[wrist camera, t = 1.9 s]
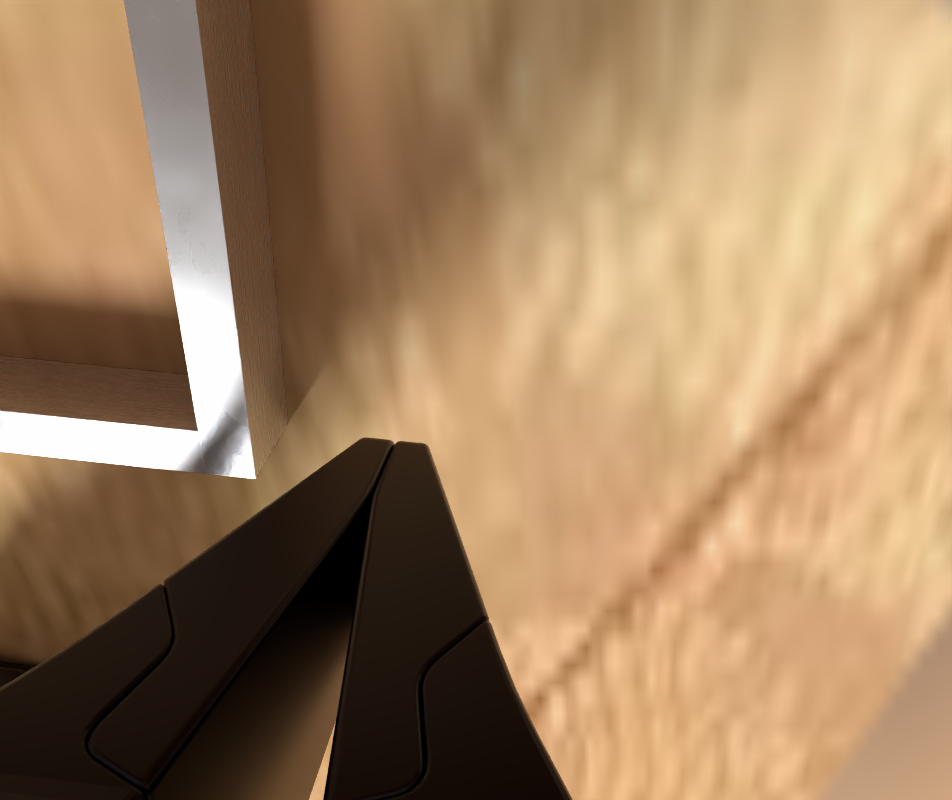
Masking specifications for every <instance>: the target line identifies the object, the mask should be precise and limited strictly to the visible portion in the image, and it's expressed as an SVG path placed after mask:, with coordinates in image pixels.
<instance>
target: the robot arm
mask: <svg viewBox="0 0 952 800" xmlns="http://www.w3.org/2000/svg"><path fill="white" fill-rule="evenodd" d="M335 721H336V724H335ZM334 724H335V730H334V736H333V743H332V749H331V755H330V761H329V768H328V774H327V780H326V786H325V793H324V799H323V800H572V798H571V796H570V794H569V792H568V790H567V788H566V786H565V784H564V782H563V781H562V779H561V777H560V775H559V773H558V771H557V769H556V767H555V765H554V764H553V762H552V760H551V758H550V756H549V754H548V752H547V750H546V748H545V747H544V745H543V743H542V741H541V739H540V737H539V735H538V733H537V731H536V729H535V727H534V725H533V723H532V721H531V719H530V717H529V715H528V713H527V711H526V709H525V707H524V704H523V702H522V700H521V698H520V696H519V694H518V692H517V690H516V688H515V685H514V683H513V680H512V678H511V675H510V673H509V670H508V668H507V665H506V663H505V660H504V658H503V655H502V653H501V650H500V647H499V645H498V642H497V639H496V636H495V633H494V630H493V628H492V625H491V623H490V622H489V617H488V614H487V612H486V609H485V606H484V603H483V600H482V597H481V594H480V592H479V589H478V586H477V583H476V580H475V577H474V575H473V572H472V569H471V566H470V563H469V560H468V557H467V555H466V552H465V549H464V546H463V543H462V540H461V537H460V535H459V532H458V529H457V526H456V523H455V520H454V517H453V515H452V512H451V509H450V506H449V503H448V500H447V498H446V495H445V492H444V489H443V486H442V483H441V480H440V478H439V475H438V472H437V469H436V466H435V463H434V460H433V458H432V455H431V452H430V449H429V447H428V446H427V445H426V444H424V443H414V442H404V441H399V442H397V443H396V444H395V445H394V442H393V441H391V440H385V439H376V438H362V439H360V440H358V441H357V442H356V443H354V444H353V445H351V446H350V447H349V448H347V449H346V450H344V451H343V452H342V453H340V454H339V455H337V456H336V457H335V458H333V459H332V460H331V461H329V462H328V463H326V464H325V465H324V466H322V467H321V468H319V469H318V470H317V471H315V472H314V473H313V474H311V475H310V476H308V477H307V478H306V479H304V480H303V481H301V482H300V483H299V484H297V485H296V486H294V487H293V488H292V489H290V490H289V491H288V492H286V493H285V494H283V495H282V496H281V497H279V498H278V499H276V500H275V501H274V502H272V503H271V504H269V505H268V506H267V507H265V508H264V509H263V510H261V511H260V512H258V513H257V514H256V515H254V516H253V517H251V518H250V519H249V520H247V521H246V522H244V523H243V524H242V525H240V526H239V527H238V528H236V529H235V530H233V531H232V532H231V533H229V534H228V535H226V536H225V537H224V538H222V539H221V540H219V541H218V542H217V543H215V544H214V545H213V546H211V547H210V548H208V549H207V550H206V551H204V552H203V553H201V554H200V555H199V556H197V557H196V558H194V559H193V560H192V561H190V562H189V563H188V564H186V565H185V566H183V567H182V568H181V569H179V570H178V571H176V572H175V573H174V574H172V575H171V576H169V577H168V578H167V579H165V581H164V586H163V585H161V584H159V585H157V586H155V587H154V588H152V589H151V590H150V591H148V592H147V593H145V594H144V595H143V596H141V597H140V598H138V599H137V600H136V601H134V602H133V603H132V604H130V605H129V606H127V607H126V608H124V609H123V610H121V611H120V612H118V613H117V614H116V615H114V616H113V617H111V618H110V619H108V620H107V621H105V622H104V623H102V624H101V625H100V626H98V627H97V628H95V629H94V630H92V631H91V632H89V633H88V634H86V635H85V636H83V637H82V638H80V639H79V640H77V641H75V642H74V643H72V644H71V645H69V646H68V647H66V648H64V649H63V650H61V651H60V652H58V653H56V654H55V655H53V656H52V657H50V658H48V659H47V660H45V661H44V662H42V663H40V664H39V665H37V666H36V667H32V666H24V665H15V664H7V663H0V800H309V798H310V795H311V792H312V789H313V786H314V783H315V780H316V777H317V774H318V771H319V768H320V765H321V762H322V759H323V756H324V753H325V750H326V747H327V745H328V742H329V739H330V736H331V733H332V730H333V727H334Z"/></svg>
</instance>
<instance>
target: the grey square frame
mask: <svg viewBox="0 0 952 800" xmlns="http://www.w3.org/2000/svg"><path fill="white" fill-rule="evenodd" d="M124 4H125V10H126V15H127V21H128V27H129V33H130V39H131V44H132V50H133V56H134V62H135V68H136V73H137V79H138V85H139V91H140V97H141V102H142V108H143V114H144V120H145V126H146V131H147V137H148V143H149V149H150V155H151V160H152V166H153V172H154V178H155V184H156V190H157V195H158V201H159V207H160V213H161V219H162V224H163V230H164V236H165V242H166V248H167V253H168V259H169V265H170V271H171V277H172V282H173V288H174V294H175V300H176V306H177V311H178V317H179V323H180V329H181V335H182V340H183V346H184V352H185V358H186V364H187V370H188V375H185V374H176V373H166V372H156V371H146V370H136V369H126V368H116V367H107V366H97V365H87V364H77V363H67V362H57V361H47V360H37V359H28V358H18V357H8V356H0V452H7V453H16V454H25V455H35V456H44V457H54V458H63V459H72V460H82V461H91V462H100V463H110V464H119V465H128V466H138V467H147V468H157V469H166V470H175V471H185V472H194V473H203V474H213V475H222V476H232V477H241V478H250V479H256V477H257V476H258V474H259V472H260V470H261V469H262V467H263V465H264V464H265V462H266V460H267V459H268V457H269V455H270V453H271V452H272V450H273V448H274V447H275V445H276V443H277V441H278V440H279V438H280V436H281V435H282V433H283V431H284V430H285V428H286V426H287V424H288V419H287V408H286V397H285V386H284V374H283V363H282V352H281V341H280V330H279V319H278V308H277V297H276V285H275V274H274V263H273V252H272V241H271V230H270V219H269V208H268V196H267V185H266V174H265V163H264V152H263V141H262V130H261V119H260V107H259V96H258V85H257V74H256V63H255V52H254V41H253V30H252V18H251V7H250V0H124Z"/></svg>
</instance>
